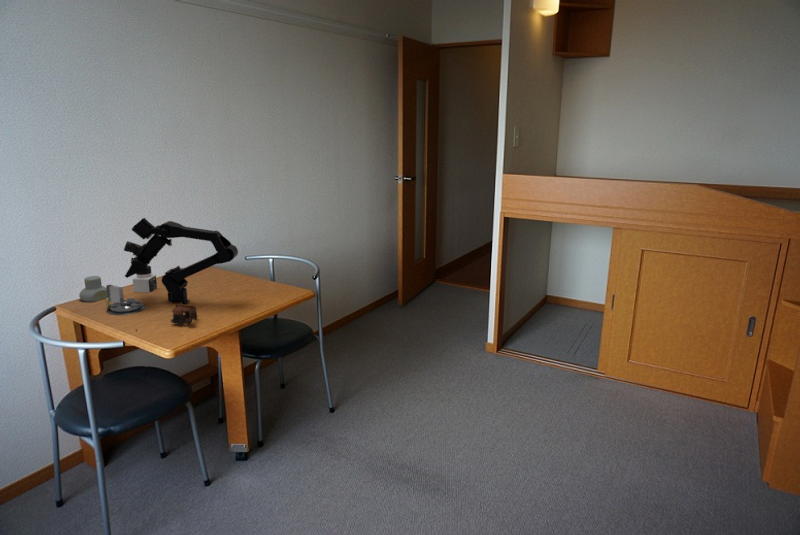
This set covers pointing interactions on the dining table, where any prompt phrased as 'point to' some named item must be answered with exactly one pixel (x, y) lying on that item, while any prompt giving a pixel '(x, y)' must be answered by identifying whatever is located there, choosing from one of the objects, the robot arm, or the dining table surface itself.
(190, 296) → the dining table surface
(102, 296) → the air freshener
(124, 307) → the grey studded disc
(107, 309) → the flange
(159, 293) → the dining table surface
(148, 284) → the medicine bottle
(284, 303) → the dining table surface
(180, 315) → the pottery mug
